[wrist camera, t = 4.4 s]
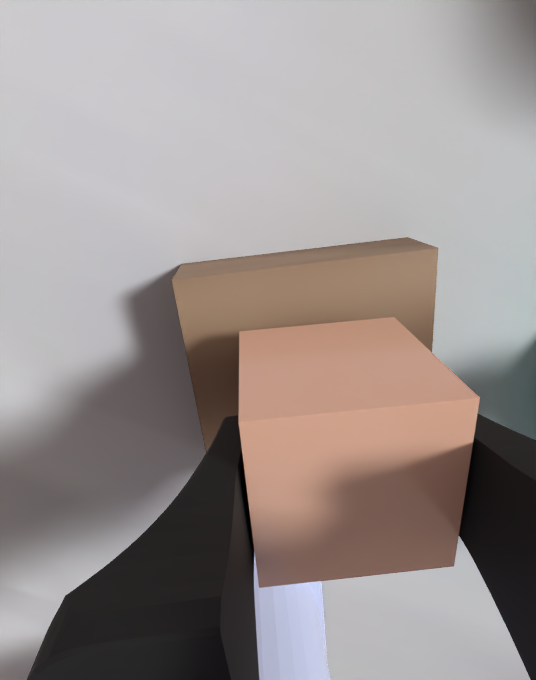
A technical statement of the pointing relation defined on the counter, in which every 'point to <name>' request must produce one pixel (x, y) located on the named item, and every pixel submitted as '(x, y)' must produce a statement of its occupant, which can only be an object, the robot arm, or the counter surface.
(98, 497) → the counter surface
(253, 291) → the slab
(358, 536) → the cube
